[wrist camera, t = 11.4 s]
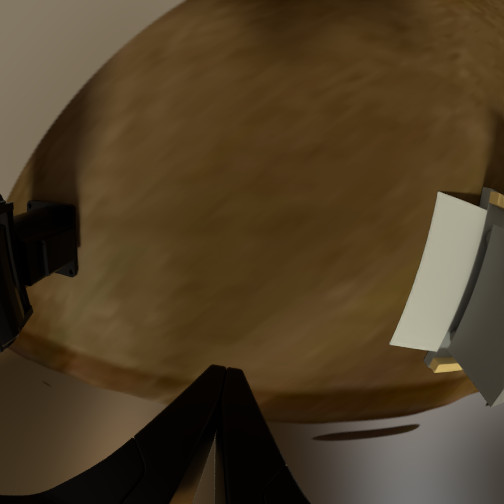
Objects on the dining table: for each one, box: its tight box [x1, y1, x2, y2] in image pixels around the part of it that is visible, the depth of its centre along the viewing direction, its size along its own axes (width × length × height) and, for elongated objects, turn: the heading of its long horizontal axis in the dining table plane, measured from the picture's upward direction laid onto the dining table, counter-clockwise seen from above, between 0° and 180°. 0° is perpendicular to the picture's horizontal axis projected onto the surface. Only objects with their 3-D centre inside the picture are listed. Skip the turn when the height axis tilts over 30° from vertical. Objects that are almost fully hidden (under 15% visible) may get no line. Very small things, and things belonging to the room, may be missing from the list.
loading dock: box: [390, 187, 504, 373], centre depth 19 cm, size 20×18×3 cm
